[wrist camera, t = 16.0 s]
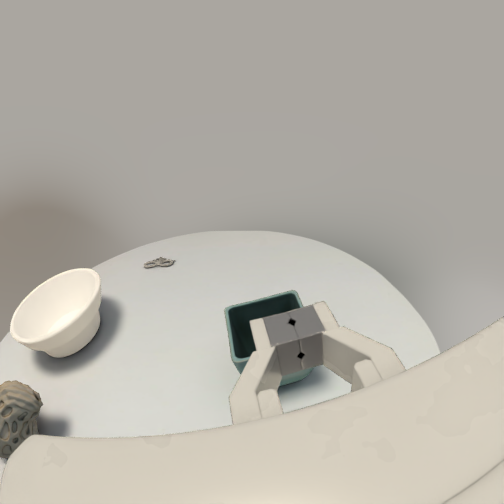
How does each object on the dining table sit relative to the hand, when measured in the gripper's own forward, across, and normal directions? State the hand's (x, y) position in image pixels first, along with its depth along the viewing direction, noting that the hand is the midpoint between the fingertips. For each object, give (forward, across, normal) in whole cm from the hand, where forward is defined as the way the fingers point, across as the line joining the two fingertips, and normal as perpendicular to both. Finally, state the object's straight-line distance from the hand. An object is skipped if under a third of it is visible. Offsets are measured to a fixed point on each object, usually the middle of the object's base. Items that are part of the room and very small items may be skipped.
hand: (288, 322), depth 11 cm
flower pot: (+15, 0, +23) cm, 28 cm away
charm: (+50, +18, +22) cm, 58 cm away
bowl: (+31, +35, +23) cm, 52 cm away
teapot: (+7, +40, +23) cm, 47 cm away
